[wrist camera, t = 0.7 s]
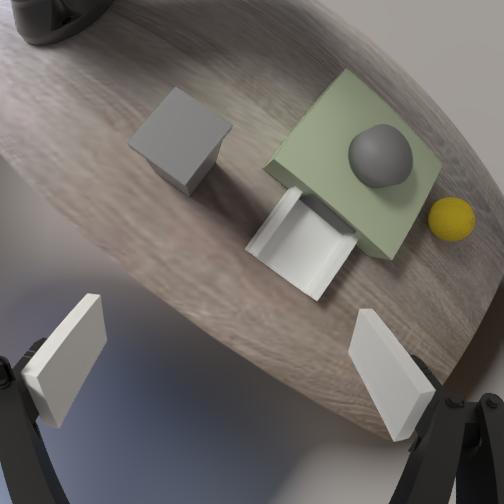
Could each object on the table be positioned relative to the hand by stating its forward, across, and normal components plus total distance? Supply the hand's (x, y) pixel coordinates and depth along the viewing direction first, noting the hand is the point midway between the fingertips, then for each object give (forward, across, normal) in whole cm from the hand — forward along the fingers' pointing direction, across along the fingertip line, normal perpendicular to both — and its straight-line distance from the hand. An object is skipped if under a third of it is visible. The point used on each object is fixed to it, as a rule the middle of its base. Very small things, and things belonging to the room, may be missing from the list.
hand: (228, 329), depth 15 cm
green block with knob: (+21, +11, +5) cm, 24 cm away
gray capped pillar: (+20, -5, +6) cm, 21 cm away
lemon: (+22, +26, +3) cm, 35 cm away
